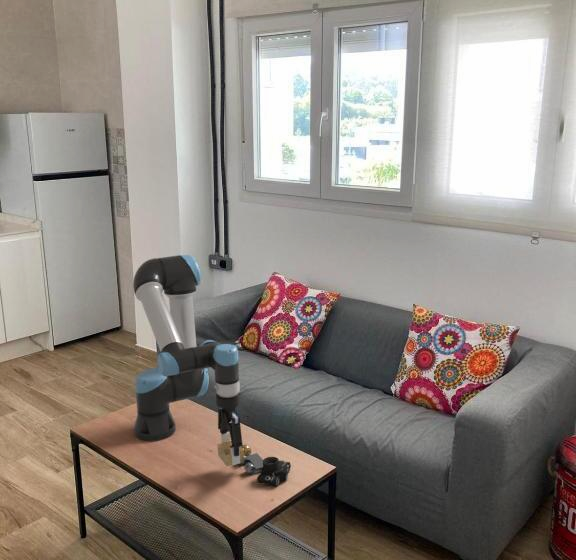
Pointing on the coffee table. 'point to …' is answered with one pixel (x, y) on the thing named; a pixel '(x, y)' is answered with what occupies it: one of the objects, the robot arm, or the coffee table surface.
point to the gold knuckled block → (225, 452)
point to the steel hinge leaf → (253, 464)
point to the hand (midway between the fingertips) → (230, 457)
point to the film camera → (273, 471)
